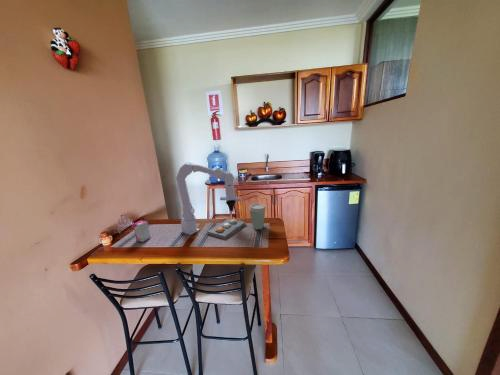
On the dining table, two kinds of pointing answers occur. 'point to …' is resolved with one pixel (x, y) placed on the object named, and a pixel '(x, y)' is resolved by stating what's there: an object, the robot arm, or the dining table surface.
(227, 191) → the robot arm
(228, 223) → the ivory button
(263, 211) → the disposable coffee cup
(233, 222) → the green button
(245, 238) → the dining table surface
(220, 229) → the terracotta button
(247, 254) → the dining table surface
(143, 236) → the supplement box
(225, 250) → the dining table surface
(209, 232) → the button panel
